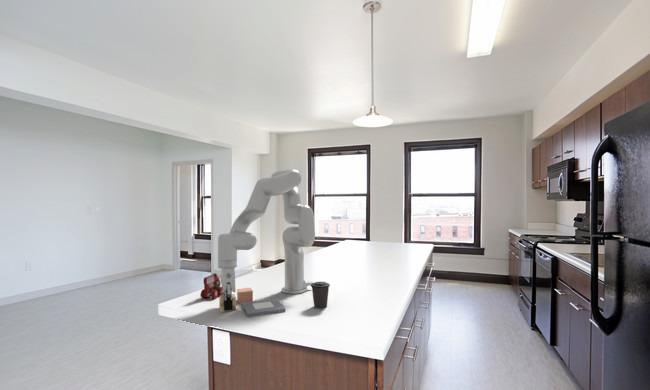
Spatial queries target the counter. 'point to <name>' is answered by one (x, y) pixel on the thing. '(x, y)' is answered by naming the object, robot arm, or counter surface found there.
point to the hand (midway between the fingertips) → (227, 307)
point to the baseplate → (263, 307)
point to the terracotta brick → (244, 295)
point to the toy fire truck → (211, 287)
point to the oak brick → (221, 303)
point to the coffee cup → (320, 294)
